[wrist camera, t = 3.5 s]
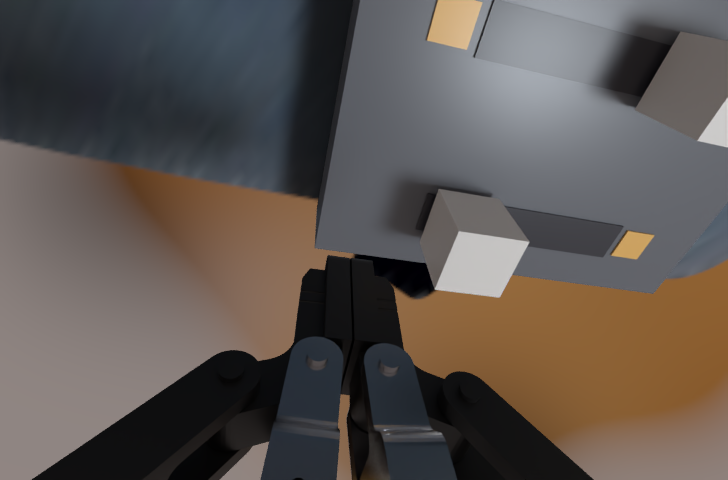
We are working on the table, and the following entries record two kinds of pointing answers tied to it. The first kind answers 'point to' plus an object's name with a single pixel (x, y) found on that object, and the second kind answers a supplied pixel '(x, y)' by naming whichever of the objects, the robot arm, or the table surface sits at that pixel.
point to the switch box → (521, 132)
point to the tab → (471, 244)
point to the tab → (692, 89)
